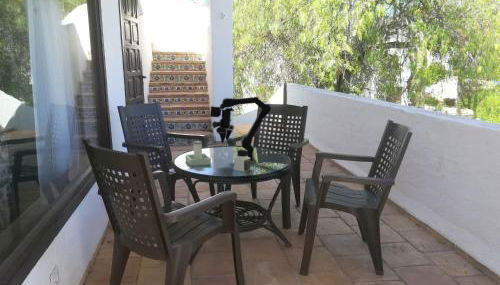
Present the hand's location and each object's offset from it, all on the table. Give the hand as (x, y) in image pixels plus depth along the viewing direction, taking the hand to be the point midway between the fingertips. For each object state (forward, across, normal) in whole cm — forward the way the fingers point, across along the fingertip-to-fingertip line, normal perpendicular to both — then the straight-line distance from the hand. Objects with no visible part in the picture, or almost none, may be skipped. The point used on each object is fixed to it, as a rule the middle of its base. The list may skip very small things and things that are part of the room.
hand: (224, 141), depth 253 cm
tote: (+13, +13, -12) cm, 23 cm away
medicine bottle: (+12, +20, +18) cm, 29 cm away
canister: (+12, +13, -12) cm, 22 cm away
